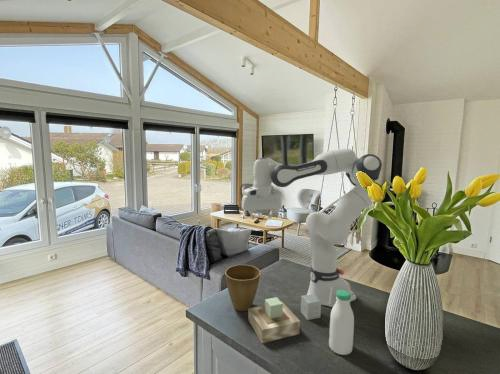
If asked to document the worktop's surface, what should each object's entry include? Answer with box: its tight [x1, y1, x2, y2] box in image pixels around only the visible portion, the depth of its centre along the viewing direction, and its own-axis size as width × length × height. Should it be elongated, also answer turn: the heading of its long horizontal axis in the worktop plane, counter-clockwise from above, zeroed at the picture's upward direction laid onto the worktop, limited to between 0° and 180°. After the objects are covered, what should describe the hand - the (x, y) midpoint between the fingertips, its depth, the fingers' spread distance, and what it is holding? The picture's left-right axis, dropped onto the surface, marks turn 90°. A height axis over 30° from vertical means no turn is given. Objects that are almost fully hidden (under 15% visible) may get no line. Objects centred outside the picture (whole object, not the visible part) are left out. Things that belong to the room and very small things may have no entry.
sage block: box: [264, 296, 283, 319], centre depth 103 cm, size 5×5×5 cm
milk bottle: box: [328, 290, 355, 356], centre depth 92 cm, size 8×8×20 cm
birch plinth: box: [247, 301, 301, 344], centre depth 104 cm, size 15×14×5 cm
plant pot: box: [224, 264, 261, 312], centre depth 116 cm, size 15×15×16 cm
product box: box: [300, 294, 322, 321], centre depth 112 cm, size 6×6×7 cm
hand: (261, 218), depth 135 cm, fingers open, 8 cm apart
